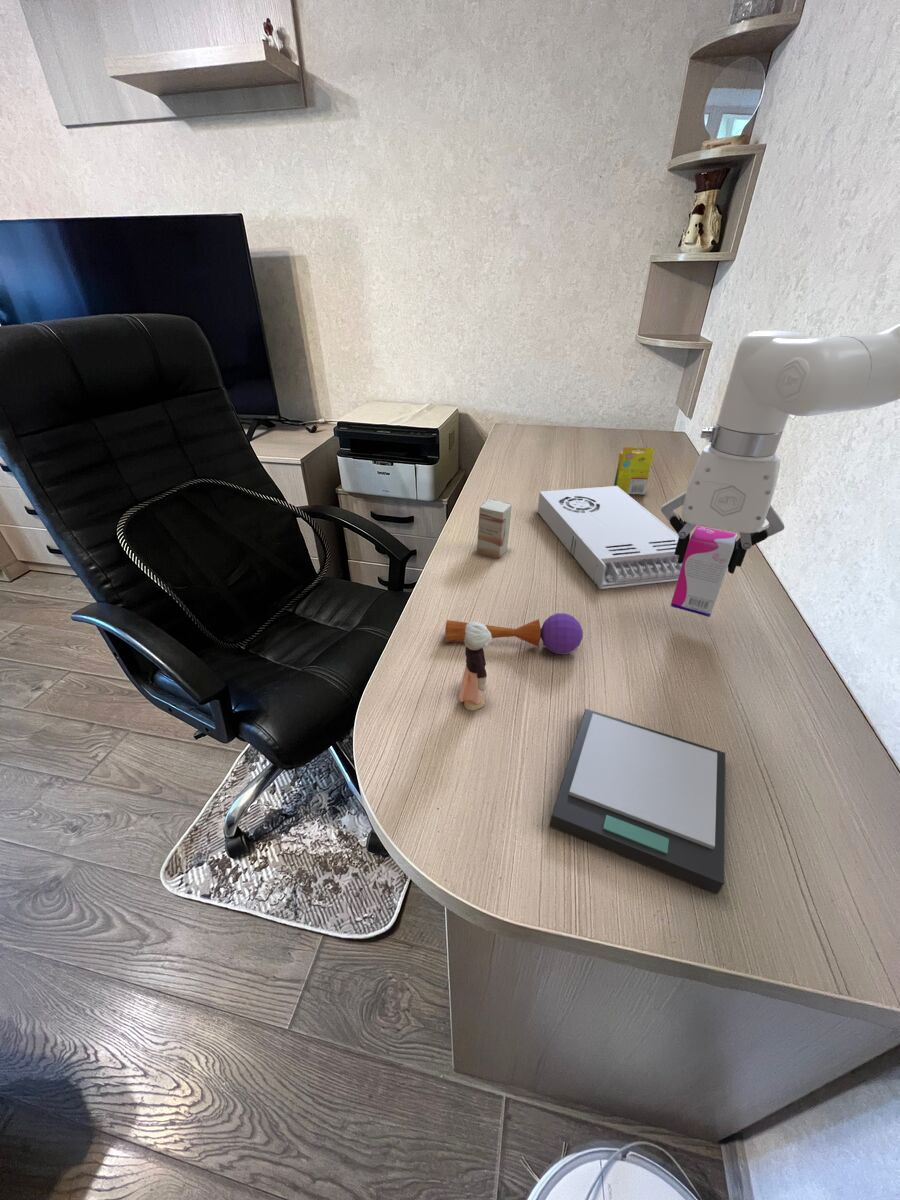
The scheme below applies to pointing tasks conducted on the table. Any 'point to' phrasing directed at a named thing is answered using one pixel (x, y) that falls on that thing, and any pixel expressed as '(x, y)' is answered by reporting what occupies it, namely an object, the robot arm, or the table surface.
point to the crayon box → (633, 470)
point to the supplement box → (703, 570)
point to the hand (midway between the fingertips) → (705, 563)
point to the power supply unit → (612, 536)
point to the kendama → (532, 632)
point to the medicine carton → (493, 528)
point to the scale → (646, 798)
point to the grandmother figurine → (474, 665)
